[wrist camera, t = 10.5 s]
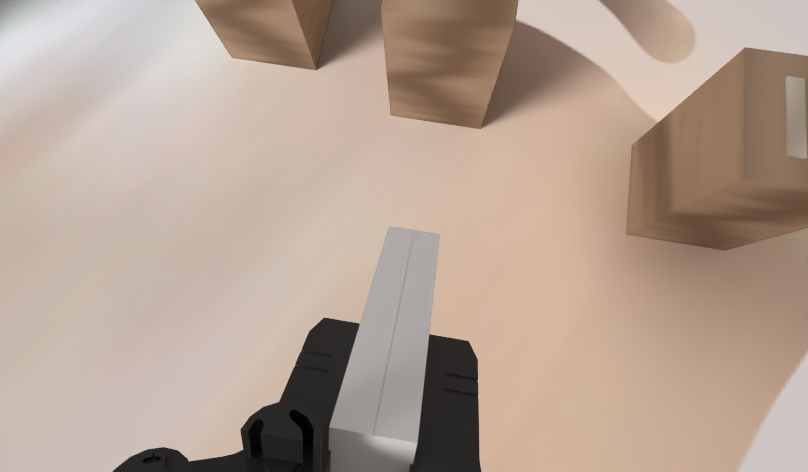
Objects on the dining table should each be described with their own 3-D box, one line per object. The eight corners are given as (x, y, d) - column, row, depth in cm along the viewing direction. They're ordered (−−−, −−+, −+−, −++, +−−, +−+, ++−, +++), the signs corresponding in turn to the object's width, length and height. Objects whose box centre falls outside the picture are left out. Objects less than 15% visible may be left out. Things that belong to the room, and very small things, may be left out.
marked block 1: (626, 234, 27) (747, 176, 18) (632, 143, 29) (747, 42, 19) (725, 250, 27) (904, 200, 17) (726, 158, 28) (894, 62, 19)
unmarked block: (390, 115, 29) (380, 6, 20) (406, 37, 31) (403, -101, 21) (480, 129, 29) (514, 24, 19) (492, 49, 30) (530, -85, 21)
